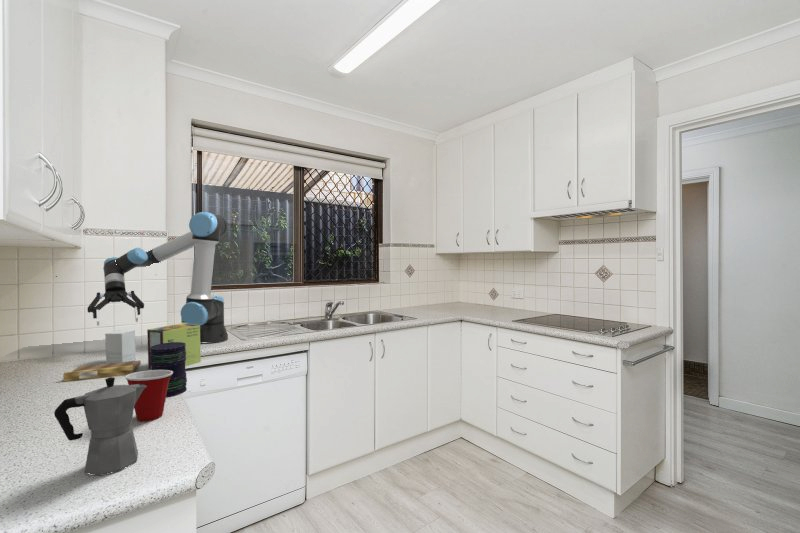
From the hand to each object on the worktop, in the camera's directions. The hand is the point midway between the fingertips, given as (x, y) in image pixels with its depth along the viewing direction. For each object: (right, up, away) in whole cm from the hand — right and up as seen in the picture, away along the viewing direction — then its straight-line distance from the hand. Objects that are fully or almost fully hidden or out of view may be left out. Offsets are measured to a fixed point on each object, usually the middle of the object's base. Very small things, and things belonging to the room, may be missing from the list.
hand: (118, 321), depth 167 cm
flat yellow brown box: (+11, -16, -22) cm, 29 cm away
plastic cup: (+56, -17, -64) cm, 86 cm away
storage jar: (+49, -16, -45) cm, 68 cm away
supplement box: (+7, -16, -8) cm, 19 cm away
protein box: (+33, -16, -14) cm, 39 cm away
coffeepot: (+62, -17, -88) cm, 109 cm away
